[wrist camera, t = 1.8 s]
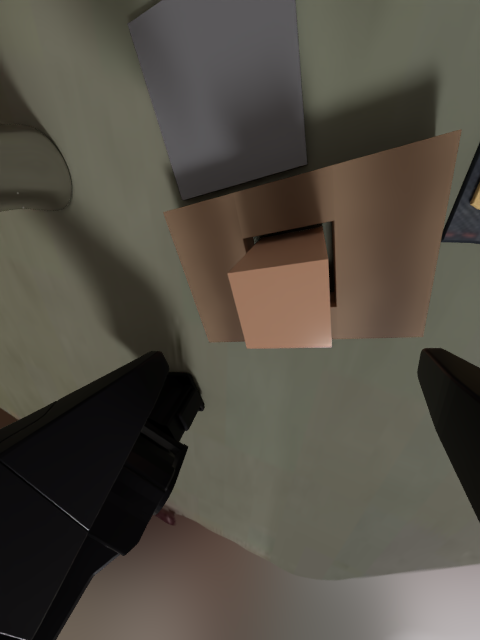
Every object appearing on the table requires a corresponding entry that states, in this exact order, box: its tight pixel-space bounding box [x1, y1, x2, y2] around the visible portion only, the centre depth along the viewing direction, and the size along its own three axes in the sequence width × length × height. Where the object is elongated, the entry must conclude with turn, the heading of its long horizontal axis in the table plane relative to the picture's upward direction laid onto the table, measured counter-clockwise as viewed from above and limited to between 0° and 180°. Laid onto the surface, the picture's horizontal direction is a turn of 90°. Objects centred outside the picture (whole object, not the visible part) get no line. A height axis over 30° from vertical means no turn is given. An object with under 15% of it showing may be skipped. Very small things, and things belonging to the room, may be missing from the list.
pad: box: [128, 0, 307, 200], centre depth 13 cm, size 9×9×1 cm
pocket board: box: [163, 129, 462, 342], centre depth 16 cm, size 16×11×3 cm
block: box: [227, 226, 332, 348], centre depth 14 cm, size 4×4×8 cm
